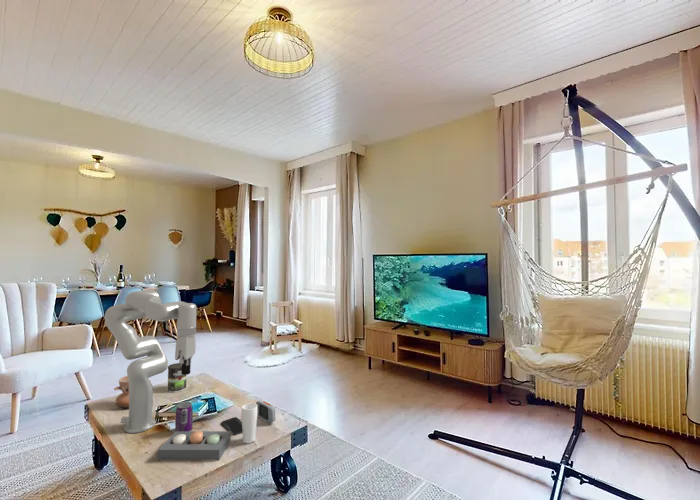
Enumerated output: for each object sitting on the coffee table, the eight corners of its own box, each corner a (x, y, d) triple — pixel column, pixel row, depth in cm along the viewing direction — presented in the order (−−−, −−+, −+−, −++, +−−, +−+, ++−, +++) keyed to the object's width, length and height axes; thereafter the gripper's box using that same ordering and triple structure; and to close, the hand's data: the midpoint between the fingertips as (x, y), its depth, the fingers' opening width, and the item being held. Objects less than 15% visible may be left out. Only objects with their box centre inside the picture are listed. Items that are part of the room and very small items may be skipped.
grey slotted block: (158, 459, 135) (158, 449, 135) (175, 440, 149) (175, 431, 149) (219, 459, 135) (219, 449, 135) (230, 440, 149) (230, 431, 149)
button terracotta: (187, 446, 140) (188, 437, 140) (193, 439, 144) (193, 430, 145) (199, 446, 140) (199, 437, 140) (204, 439, 145) (204, 430, 145)
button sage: (205, 449, 140) (205, 440, 140) (209, 442, 145) (209, 434, 145) (216, 449, 140) (217, 440, 140) (221, 442, 145) (221, 434, 145)
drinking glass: (238, 440, 150) (238, 406, 150) (252, 434, 154) (252, 401, 155) (245, 446, 145) (246, 411, 145) (259, 440, 150) (260, 406, 150)
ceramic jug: (118, 414, 172) (119, 385, 172) (108, 405, 181) (109, 378, 181) (156, 402, 186) (157, 376, 187) (144, 395, 195) (146, 370, 196)
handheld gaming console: (254, 415, 172) (254, 400, 172) (259, 413, 175) (259, 398, 175) (271, 425, 163) (272, 408, 163) (276, 423, 165) (277, 406, 165)
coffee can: (188, 389, 204) (189, 365, 204) (170, 394, 197) (170, 369, 197) (183, 384, 211) (184, 361, 212) (165, 388, 205) (165, 365, 205)
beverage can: (195, 428, 159) (196, 402, 159) (184, 436, 152) (185, 409, 153) (183, 426, 161) (183, 400, 161) (171, 433, 154) (172, 407, 154)
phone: (235, 416, 170) (249, 428, 158) (235, 419, 170) (249, 430, 158) (220, 421, 164) (233, 434, 153) (220, 424, 164) (233, 436, 153)
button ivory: (170, 449, 140) (170, 440, 140) (176, 442, 144) (176, 434, 144) (182, 449, 140) (182, 440, 140) (187, 442, 144) (187, 434, 144)
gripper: (185, 328, 157) (185, 368, 157) (169, 336, 142) (168, 380, 142) (202, 328, 157) (201, 368, 157) (187, 336, 142) (186, 380, 142)
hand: (185, 373), depth 149 cm, fingers closed
